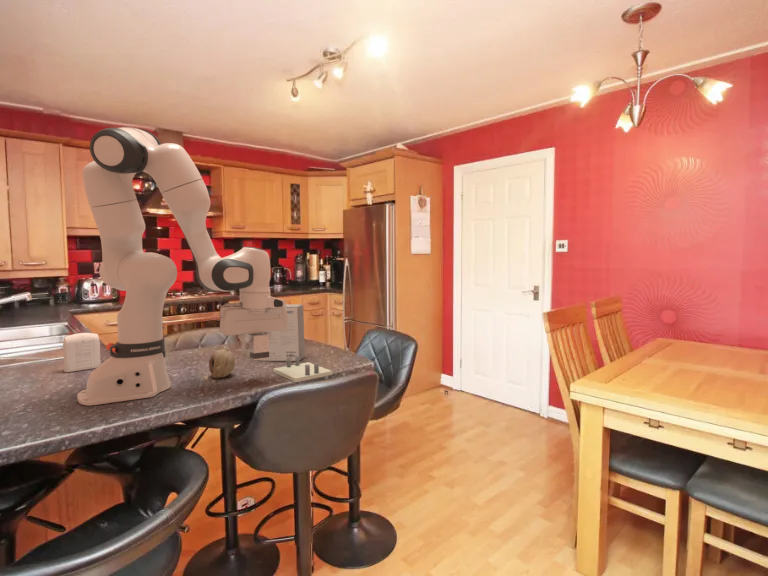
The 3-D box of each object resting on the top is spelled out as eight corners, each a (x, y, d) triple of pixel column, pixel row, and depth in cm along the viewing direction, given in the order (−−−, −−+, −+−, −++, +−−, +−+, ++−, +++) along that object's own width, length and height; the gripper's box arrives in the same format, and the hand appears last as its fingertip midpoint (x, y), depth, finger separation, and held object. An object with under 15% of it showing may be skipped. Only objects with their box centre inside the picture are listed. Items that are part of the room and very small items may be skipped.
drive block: (254, 360, 124) (254, 336, 124) (241, 355, 131) (241, 332, 131) (269, 358, 127) (269, 334, 127) (255, 353, 134) (255, 331, 134)
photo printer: (99, 365, 151) (97, 330, 150) (102, 367, 148) (100, 332, 147) (63, 371, 143) (60, 334, 142) (65, 373, 140) (63, 336, 139)
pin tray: (295, 382, 130) (295, 368, 129) (273, 372, 141) (273, 359, 141) (332, 374, 138) (331, 361, 138) (308, 365, 149) (308, 353, 149)
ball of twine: (220, 380, 141) (220, 349, 144) (242, 377, 139) (242, 346, 141) (200, 378, 132) (201, 346, 135) (223, 376, 130) (224, 343, 133)
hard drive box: (305, 357, 162) (304, 304, 161) (299, 362, 155) (298, 306, 153) (265, 356, 164) (264, 304, 162) (257, 361, 156) (256, 306, 155)
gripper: (224, 304, 119) (224, 353, 120) (290, 301, 133) (290, 346, 133) (216, 302, 124) (216, 350, 125) (280, 300, 138) (280, 343, 138)
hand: (254, 347), depth 129 cm, fingers closed on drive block, 4 cm apart
